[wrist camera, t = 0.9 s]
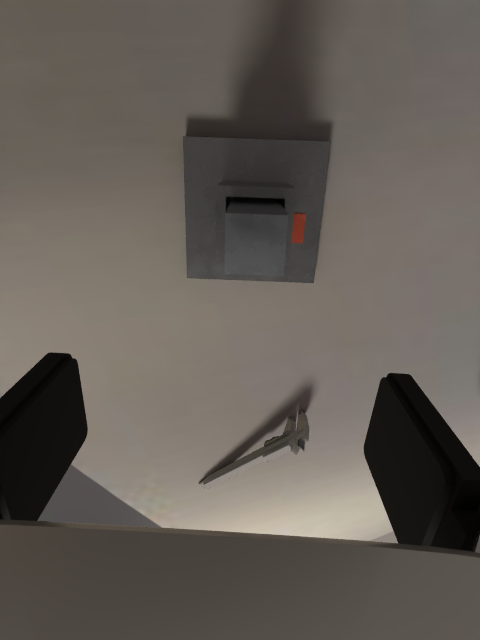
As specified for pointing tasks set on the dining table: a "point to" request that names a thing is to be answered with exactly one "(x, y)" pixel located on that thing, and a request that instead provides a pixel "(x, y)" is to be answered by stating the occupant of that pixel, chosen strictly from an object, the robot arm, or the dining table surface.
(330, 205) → the dining table surface
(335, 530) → the dining table surface
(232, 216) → the block
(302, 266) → the base
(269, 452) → the caliper
